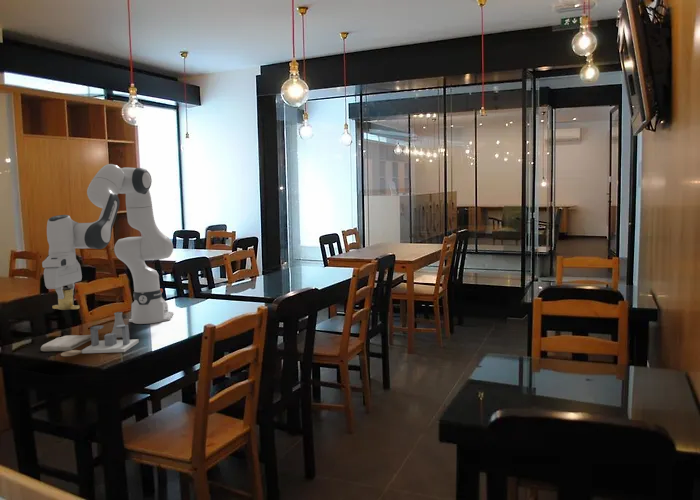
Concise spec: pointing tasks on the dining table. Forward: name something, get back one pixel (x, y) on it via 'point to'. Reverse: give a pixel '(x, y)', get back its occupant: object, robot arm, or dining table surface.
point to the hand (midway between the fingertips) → (66, 297)
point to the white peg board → (110, 341)
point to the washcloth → (65, 343)
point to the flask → (118, 322)
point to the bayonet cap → (66, 301)
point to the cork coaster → (71, 353)
